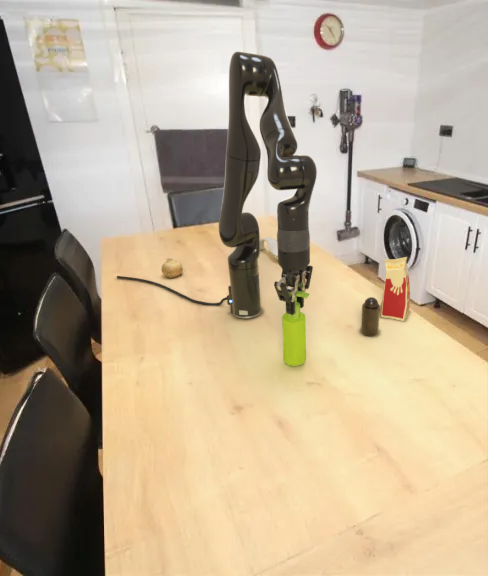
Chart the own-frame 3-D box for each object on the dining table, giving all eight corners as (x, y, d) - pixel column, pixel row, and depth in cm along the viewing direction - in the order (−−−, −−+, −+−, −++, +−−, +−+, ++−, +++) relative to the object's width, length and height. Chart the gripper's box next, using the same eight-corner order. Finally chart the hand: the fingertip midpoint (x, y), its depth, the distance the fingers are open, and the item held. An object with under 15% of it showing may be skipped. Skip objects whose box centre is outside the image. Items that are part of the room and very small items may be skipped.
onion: (186, 272, 166) (184, 255, 163) (178, 280, 159) (176, 263, 156) (167, 271, 167) (165, 255, 164) (159, 279, 159) (155, 262, 156)
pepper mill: (358, 333, 123) (359, 299, 118) (365, 325, 128) (367, 292, 123) (374, 338, 121) (376, 303, 116) (380, 330, 125) (383, 296, 120)
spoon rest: (304, 259, 179) (304, 243, 176) (284, 266, 171) (284, 250, 168) (268, 246, 193) (267, 232, 190) (248, 253, 185) (247, 238, 182)
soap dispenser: (306, 367, 106) (306, 299, 97) (280, 364, 107) (278, 296, 98) (311, 354, 111) (311, 288, 102) (287, 351, 112) (284, 285, 103)
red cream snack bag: (409, 308, 138) (415, 252, 129) (405, 321, 130) (411, 263, 121) (382, 304, 140) (386, 249, 132) (376, 316, 133) (380, 259, 124)
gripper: (296, 234, 102) (297, 295, 109) (262, 251, 91) (265, 318, 98) (322, 239, 99) (322, 302, 106) (290, 257, 88) (291, 326, 95)
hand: (295, 309), depth 102 cm, fingers closed on soap dispenser, 3 cm apart
